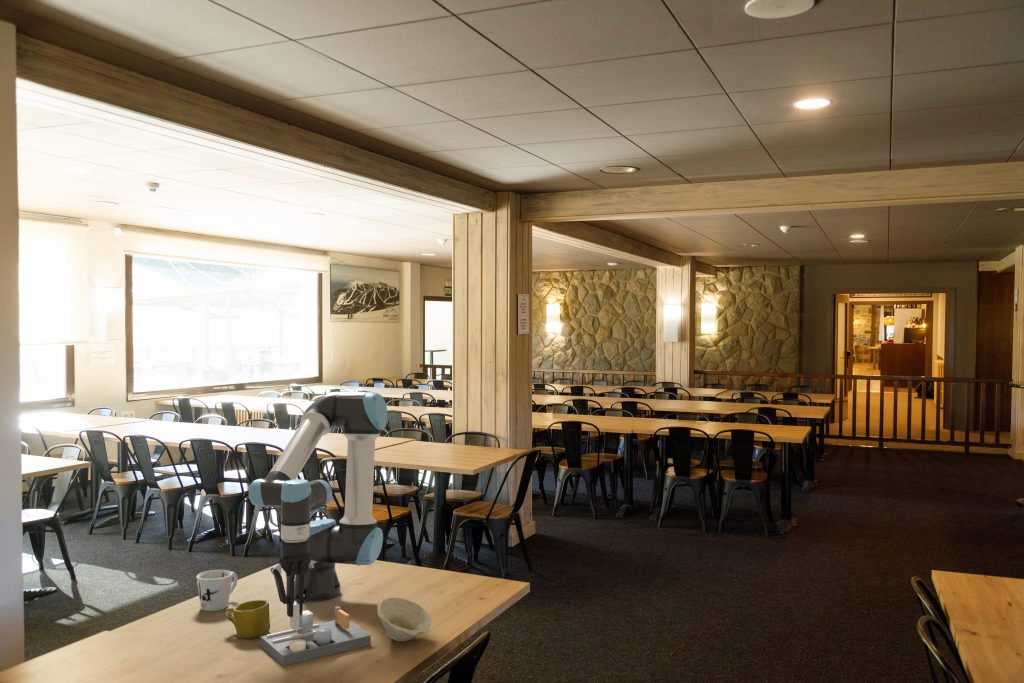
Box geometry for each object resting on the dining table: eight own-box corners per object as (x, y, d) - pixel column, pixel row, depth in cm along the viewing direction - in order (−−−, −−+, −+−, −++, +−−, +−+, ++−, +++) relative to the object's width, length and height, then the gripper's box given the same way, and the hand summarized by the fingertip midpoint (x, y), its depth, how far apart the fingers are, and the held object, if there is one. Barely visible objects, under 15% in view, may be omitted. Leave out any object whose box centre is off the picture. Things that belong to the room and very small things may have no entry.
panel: (260, 645, 209) (260, 634, 209) (344, 627, 223) (344, 616, 223) (282, 666, 196) (282, 653, 196) (370, 644, 210) (370, 633, 210)
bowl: (406, 654, 204) (406, 615, 204) (365, 643, 211) (366, 605, 211) (441, 636, 217) (441, 599, 217) (402, 626, 224) (402, 591, 224)
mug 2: (284, 622, 221) (271, 591, 219) (262, 645, 212) (248, 613, 210) (249, 624, 226) (237, 594, 224) (227, 647, 217) (213, 616, 214)
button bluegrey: (313, 642, 206) (313, 629, 206) (327, 638, 208) (327, 626, 208) (319, 646, 203) (319, 634, 203) (334, 643, 205) (334, 630, 205)
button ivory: (287, 654, 202) (287, 641, 202) (302, 651, 204) (302, 638, 204) (293, 659, 198) (293, 646, 199) (308, 656, 201) (308, 643, 201)
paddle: (334, 624, 218) (334, 607, 218) (338, 623, 218) (339, 606, 218) (345, 632, 212) (345, 614, 212) (349, 631, 213) (350, 613, 213)
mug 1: (188, 610, 236) (188, 576, 236) (223, 595, 249) (224, 564, 249) (215, 615, 232) (215, 581, 232) (250, 600, 245) (250, 568, 246)
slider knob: (297, 631, 212) (297, 612, 212) (308, 629, 214) (308, 610, 214) (301, 635, 210) (301, 615, 210) (313, 632, 212) (313, 613, 212)
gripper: (276, 545, 203) (275, 637, 203) (324, 538, 211) (323, 626, 211) (266, 539, 209) (265, 628, 209) (313, 532, 217) (312, 618, 217)
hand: (294, 627), depth 210 cm, fingers closed
